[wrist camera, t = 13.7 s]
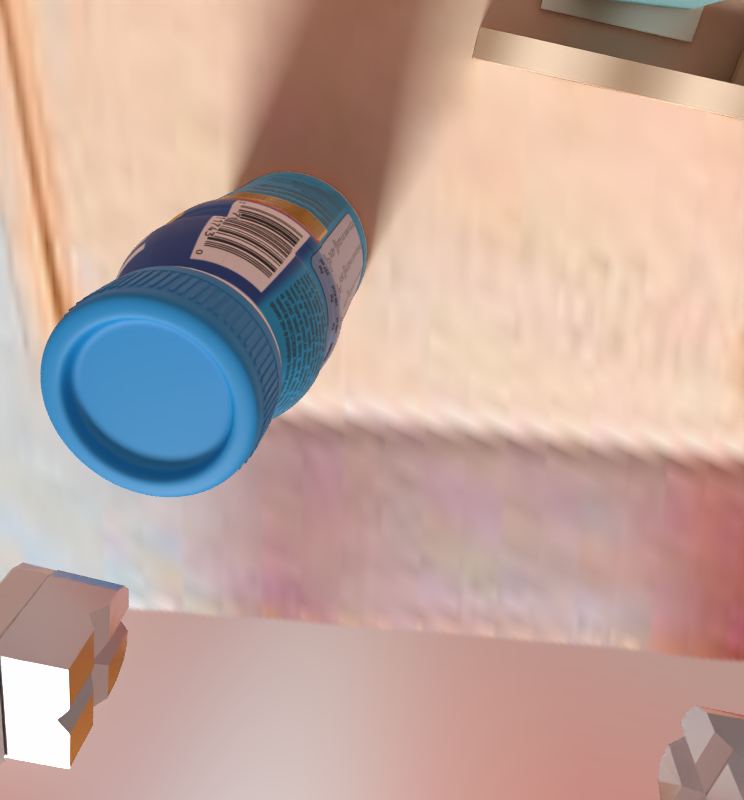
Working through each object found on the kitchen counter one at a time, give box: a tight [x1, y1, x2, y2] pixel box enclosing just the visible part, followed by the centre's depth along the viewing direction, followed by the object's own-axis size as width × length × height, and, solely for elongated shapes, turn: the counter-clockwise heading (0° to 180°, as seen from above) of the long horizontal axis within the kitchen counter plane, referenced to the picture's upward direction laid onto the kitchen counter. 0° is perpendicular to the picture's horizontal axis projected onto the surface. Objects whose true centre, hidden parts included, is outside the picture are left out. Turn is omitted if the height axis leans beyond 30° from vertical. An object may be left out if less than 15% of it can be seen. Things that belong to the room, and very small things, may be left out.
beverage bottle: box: [41, 172, 367, 497], centre depth 29 cm, size 8×8×20 cm
